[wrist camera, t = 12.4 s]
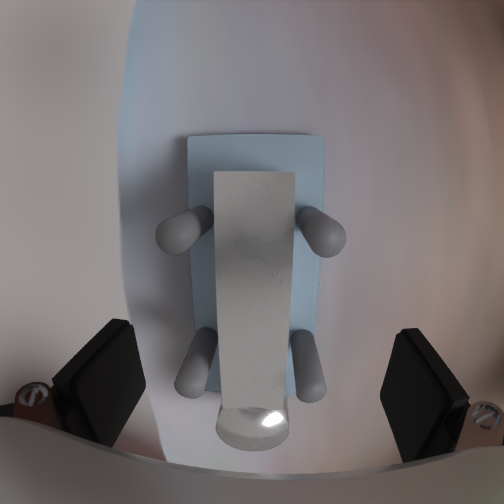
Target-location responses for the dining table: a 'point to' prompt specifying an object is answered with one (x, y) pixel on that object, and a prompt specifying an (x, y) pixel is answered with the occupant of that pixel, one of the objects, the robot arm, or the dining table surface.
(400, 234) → the dining table surface
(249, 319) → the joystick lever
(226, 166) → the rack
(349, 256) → the dining table surface
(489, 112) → the dining table surface
